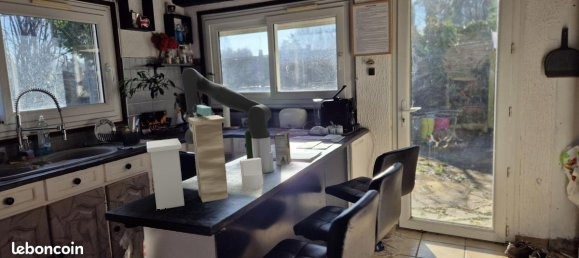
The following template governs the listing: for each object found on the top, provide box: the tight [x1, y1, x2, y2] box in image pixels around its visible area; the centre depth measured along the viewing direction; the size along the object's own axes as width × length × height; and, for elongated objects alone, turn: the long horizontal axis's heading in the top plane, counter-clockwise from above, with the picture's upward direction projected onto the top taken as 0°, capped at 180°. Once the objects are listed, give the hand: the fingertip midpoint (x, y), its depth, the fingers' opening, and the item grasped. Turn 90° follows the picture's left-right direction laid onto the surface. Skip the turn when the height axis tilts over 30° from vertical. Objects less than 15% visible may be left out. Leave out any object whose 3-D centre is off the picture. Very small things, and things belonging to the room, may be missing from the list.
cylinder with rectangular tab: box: [239, 158, 264, 190], centre depth 170 cm, size 9×9×12 cm
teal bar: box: [196, 104, 212, 116], centre depth 161 cm, size 24×3×3 cm, turn 20°
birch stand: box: [187, 114, 229, 203], centre depth 158 cm, size 18×12×32 cm, turn 20°
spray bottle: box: [244, 117, 253, 159], centre depth 227 cm, size 10×10×25 cm
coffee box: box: [273, 132, 292, 166], centre depth 212 cm, size 9×6×16 cm
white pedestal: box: [146, 138, 185, 210], centre depth 153 cm, size 18×12×24 cm, turn 20°
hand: (200, 105), depth 167 cm, fingers closed on teal bar, 3 cm apart
